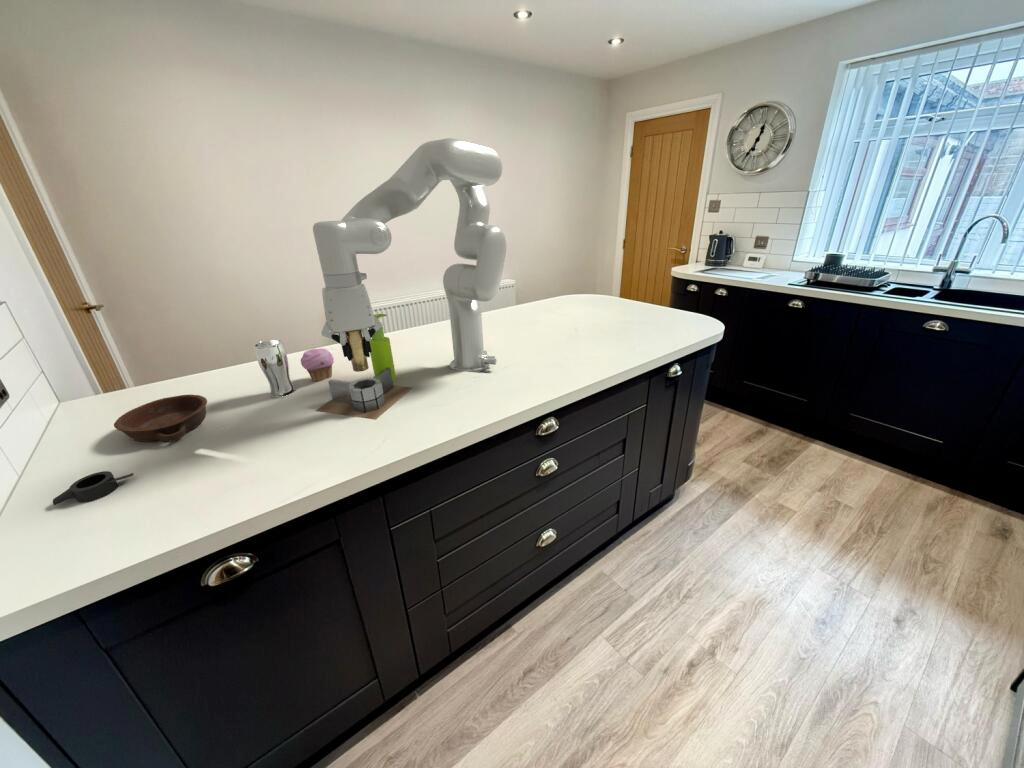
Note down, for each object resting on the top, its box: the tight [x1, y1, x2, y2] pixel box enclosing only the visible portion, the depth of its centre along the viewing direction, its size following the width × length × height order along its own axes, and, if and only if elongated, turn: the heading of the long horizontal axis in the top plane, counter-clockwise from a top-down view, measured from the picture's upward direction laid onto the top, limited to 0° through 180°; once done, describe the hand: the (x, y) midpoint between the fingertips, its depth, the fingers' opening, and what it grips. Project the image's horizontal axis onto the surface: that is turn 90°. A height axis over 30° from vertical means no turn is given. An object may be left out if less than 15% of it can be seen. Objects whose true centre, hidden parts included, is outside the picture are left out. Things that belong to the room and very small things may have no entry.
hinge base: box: [314, 384, 414, 421], centre depth 104 cm, size 18×18×1 cm
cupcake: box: [300, 347, 334, 383], centre depth 116 cm, size 9×9×10 cm
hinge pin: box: [345, 330, 370, 373], centre depth 94 cm, size 4×4×10 cm
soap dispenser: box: [369, 313, 397, 381], centre depth 112 cm, size 6×7×20 cm
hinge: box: [327, 368, 394, 413], centre depth 103 cm, size 15×15×6 cm
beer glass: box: [253, 338, 296, 398], centre depth 108 cm, size 7×7×15 cm
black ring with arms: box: [52, 470, 134, 506], centre depth 74 cm, size 8×10×3 cm
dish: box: [113, 394, 208, 443], centre depth 95 cm, size 18×22×5 cm
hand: (358, 356), depth 95 cm, fingers closed on hinge pin, 3 cm apart
